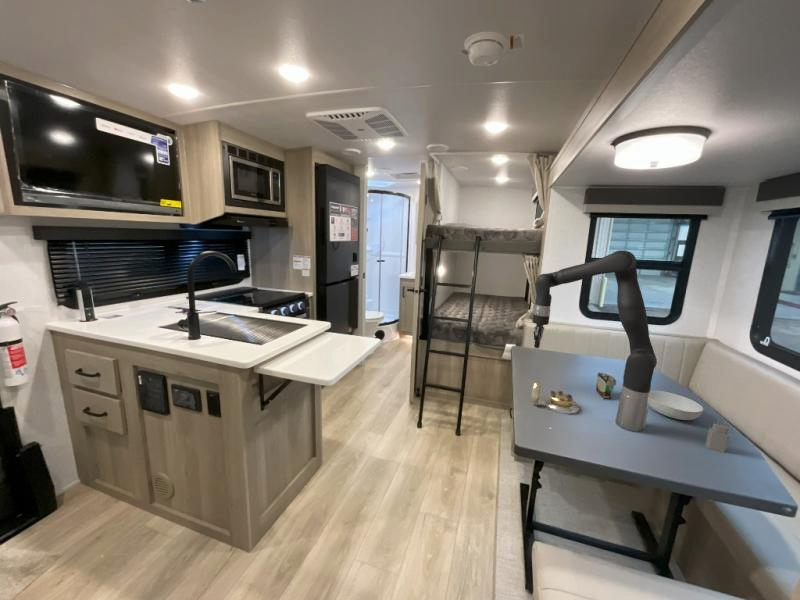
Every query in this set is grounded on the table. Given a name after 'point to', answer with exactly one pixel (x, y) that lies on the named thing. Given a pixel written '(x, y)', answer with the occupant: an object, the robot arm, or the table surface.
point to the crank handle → (551, 397)
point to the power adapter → (717, 437)
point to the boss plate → (563, 410)
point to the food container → (605, 385)
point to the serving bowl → (674, 405)
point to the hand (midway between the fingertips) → (536, 347)
